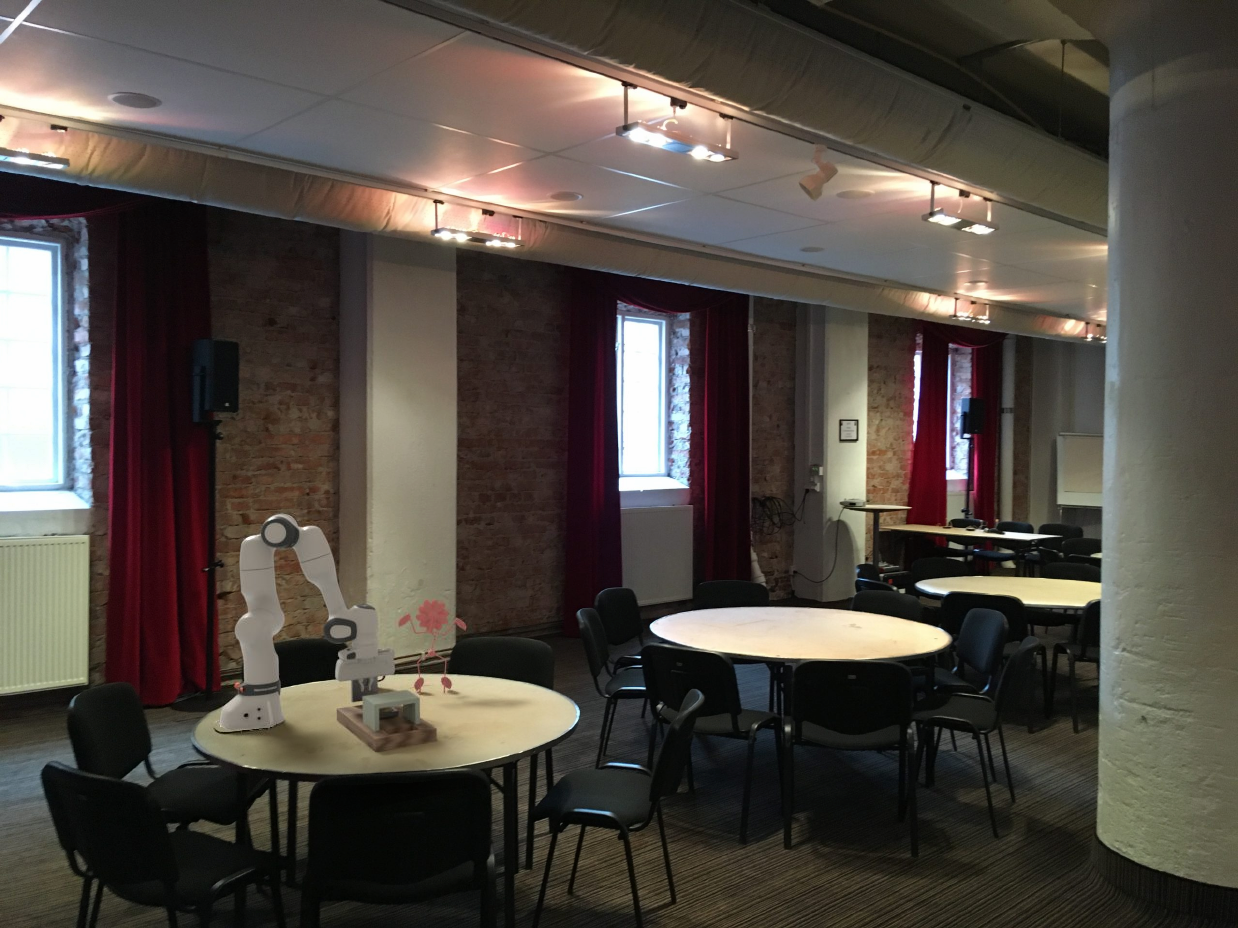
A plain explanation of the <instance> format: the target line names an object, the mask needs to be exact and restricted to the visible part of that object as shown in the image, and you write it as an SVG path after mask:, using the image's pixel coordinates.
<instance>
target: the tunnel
mask: <svg viewBox="0 0 1238 928" xmlns="http://www.w3.org/2000/svg"><path fill="white" fill-rule="evenodd" d="M362 705H363V723H365V724H366V725H367V726H369V727H370V728H371V729H372V730H374V731H379V708H386V707H392V706H398V705H402V706H403V716H404V717H406V718H407V719H409V720H410V721H411V722H413V723H414V724H420V718H421V697H419V696H418V695H416V694H414V693H413V692H411V691H410V690H409V689H403V690H394V691H389V692H383V693H378V694H374V695H368V696H363V702H362Z"/></svg>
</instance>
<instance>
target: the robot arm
mask: <svg viewBox="0 0 1238 928" xmlns="http://www.w3.org/2000/svg"><path fill="white" fill-rule="evenodd" d="M291 548H292V549H293V550H294V552H295V553H296V555H297V559H298V562H299V566H300V568H301V570H302V571H301V572H302V573H303V575H304V576H305V578H306V580H307V581H308V582H310V583H311V584H313V585H315V587H316V588H318V589H319V591H320V592H321V595H322V597H323V601H324V603H325V605H326V609H327V611H328V619H327V620H326V622H325V623H324V626H323V630H322V631H323V636H324V638H325V639H326V640H327V641H328V642H330V643H332V644H335V645H336V644H337V645H338V644H343V643H347V642H351V646H349V647H346V648H344V649H341V650H339V651H338V654H337V655H338V657H339V659H337V661H336V664H335V671H334V672H335V673H334V674H335V675H334V677H335V679H336V680H337V681H338V682H349V681H350V682H351V680H357V681H358V683H359V684H360V686H361V691H370V690H371V684H372V683H373V681H374V677H378V678H379V677H383V676H385V677H386V676H393V675H394V673H395V671H396V667H395V660H394V659H395V651H394V649H391V648H390V647H388V648H383V649H382V648H380V649H379V639H378V631H379V619H378V618H379V617H378V612H377V609H376V608H375V607H374V606H373V605H370V604H366V603H357V604H355V605H353V606H352V607H350V608H349V607H348V606H347V603H346V601H345V599H344V596H343V593H342V589H341V588H340V585H339V582H338V575H337V570H336V565H335V559H334V556H333V552H332V550H331V548H330V545H329V542H328V540H327V538H326V535H325V534H324V532H323V531H322V529H321V528H320V527H318V526H316V525H306V526H303V527H302V526H300V525H299V521H298V520H297V518H295V516H293V515H291V514H289V513H285V512H283V513H276V514H274V515H271V516H270V517H269V518H267V519H266V520H265V521H264V522H263V523H262V525H261V527H260V533H259V534H256V535H250V536H248V537H246V538H244V539H243V540H242V542H241V545H240V550H239V551H240V552H239V576H240V577H239V579H240V592H241V594H242V596H243V597H244V600H245V602H246V606H247V613H244V614H242V616H241V617H240V618H239V619H238V621H237V623H236V624H235V627H234V633H235V634H234V635H235V637H236V639H237V640H238V641H239V645H240V648H241V653H242V658H243V679H244V681H243V682H241V683H240V682H235V684H234V688H235V689H236V690H237V694H236V695H235V696H234V697H233V698H232V699H231V700H229V702H227V703H226V704H225V705H224V706H223V707H222V709H221V712H220V716H219V717H220V718H219V720H220V723H219V724H220V727H223V728H225V729H227V730H237V729H239V730H240V729H255V728H256V729H257V728H258V729H259V728H268V729H271V728H270V727H272V728H273V727H275V726H276V724H277V725H279V724H282V722H284V721H285V716H284V713H283V710H282V705H281V698H280V696H281V692H282V691H281V680H280V678H279V675H280V673H279V656H278V654H277V652H276V650H275V645H274V641H273V639H274V638H273V637H274V636H275V635H277V634H278V633H279V632H280V631H281V630H282V628H283V626H284V625H285V622H286V621H285V620H286V616H285V613H284V611H283V610H282V607H281V603H280V601H279V597H278V594H277V593H278V592H277V588H276V576H275V575H276V572H275V551H276V550H277V549H291ZM365 678H368V680H369V682H368V684H367V685H363V684H362V682H363V679H365ZM217 721H218V720H216V721H215V722H217ZM259 730H260V729H259Z"/></svg>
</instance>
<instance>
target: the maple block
mask: <svg viewBox="0 0 1238 928" xmlns="http://www.w3.org/2000/svg"><path fill="white" fill-rule="evenodd" d="M388 711H391V707H386V708H379V713H382V712H388Z"/></svg>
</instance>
